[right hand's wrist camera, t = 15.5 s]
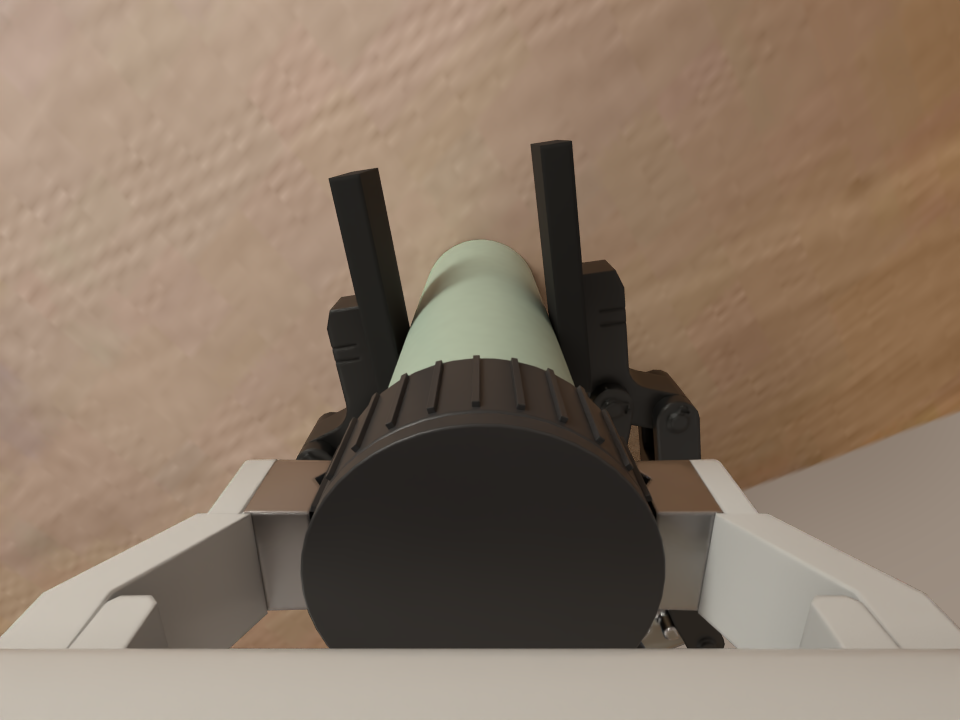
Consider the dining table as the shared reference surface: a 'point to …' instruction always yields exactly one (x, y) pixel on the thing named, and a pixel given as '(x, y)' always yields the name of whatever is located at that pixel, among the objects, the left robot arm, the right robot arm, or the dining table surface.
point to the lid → (482, 519)
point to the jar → (481, 313)
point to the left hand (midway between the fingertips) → (451, 159)
